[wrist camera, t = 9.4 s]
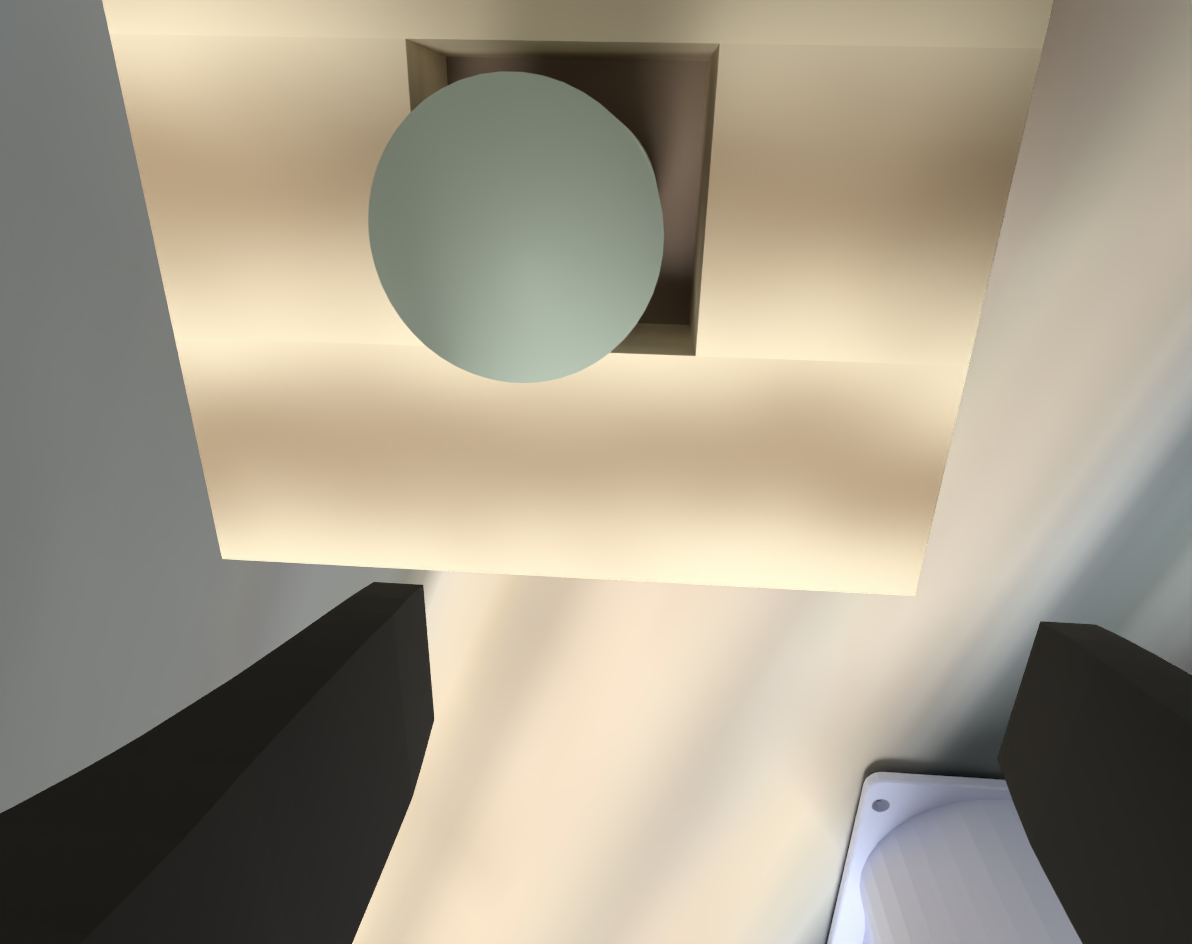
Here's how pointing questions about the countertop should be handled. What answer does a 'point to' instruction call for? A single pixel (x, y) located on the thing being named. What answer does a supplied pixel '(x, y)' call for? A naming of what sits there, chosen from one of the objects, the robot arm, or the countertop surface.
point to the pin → (516, 227)
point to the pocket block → (670, 321)
